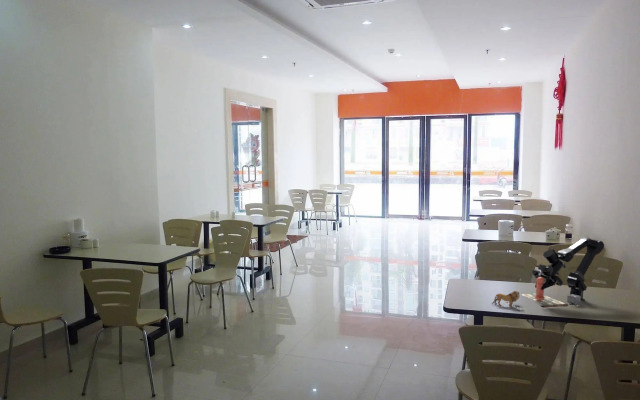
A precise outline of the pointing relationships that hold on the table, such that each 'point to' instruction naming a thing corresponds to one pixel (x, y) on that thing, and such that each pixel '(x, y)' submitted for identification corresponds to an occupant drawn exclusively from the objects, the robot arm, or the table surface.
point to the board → (546, 302)
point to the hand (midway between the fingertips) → (538, 288)
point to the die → (574, 299)
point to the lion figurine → (507, 298)
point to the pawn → (539, 289)
